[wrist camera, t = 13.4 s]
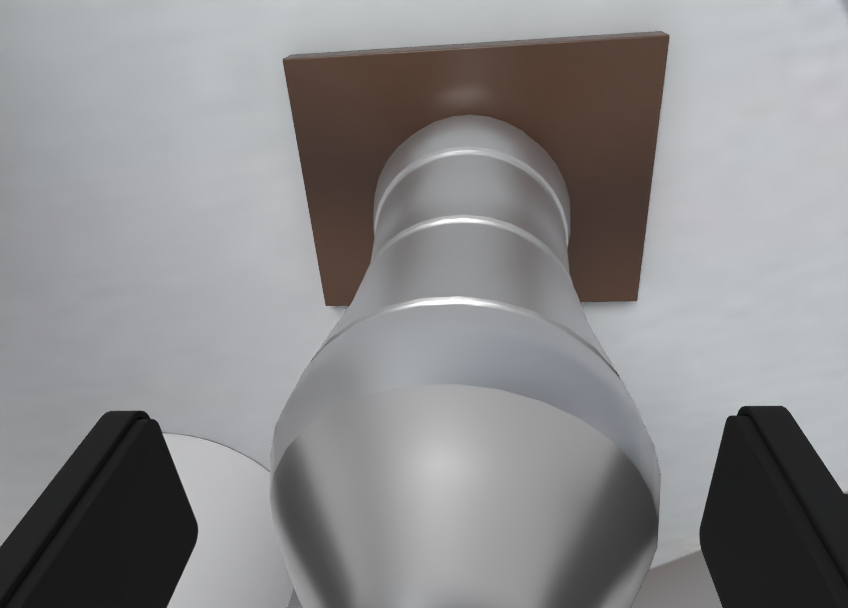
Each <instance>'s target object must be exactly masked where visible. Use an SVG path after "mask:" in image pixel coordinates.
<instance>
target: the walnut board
mask: <svg viewBox="0 0 848 608" xmlns="http://www.w3.org/2000/svg"><path fill="white" fill-rule="evenodd" d="M668 44H669V35H668V34H666V33H664V32H662V31H657V32H641V33H626V34H610V35H594V36H578V37H563V38H547V39H531V40H515V41H500V42H484V43H468V44H453V45H437V46H421V47H405V48H390V49H374V50H358V51H342V52H327V53H311V54H295V55H290V56H288V57H286V58H284V59H283V65H284V71H285V76H286V82H287V88H288V93H289V99H290V105H291V111H292V116H293V122H294V128H295V133H296V139H297V145H298V151H299V156H300V162H301V168H302V173H303V179H304V185H305V190H306V196H307V202H308V208H309V213H310V219H311V225H312V230H313V236H314V242H315V247H316V253H317V259H318V265H319V270H320V276H321V282H322V287H323V293H324V299H325V304H326V306H350V304H351V303H352V301H353V299H354V297H355V295H356V293H357V291H358V289H359V286H360V284H361V282H362V280H363V278H364V276H365V274H366V271H367V269H368V267H369V265H370V263H371V257H372V251H373V245H374V239H375V236H374V230H373V214H374V197H375V192H376V188H377V183H378V179H379V177H380V174H381V172H382V170H383V168H384V166H385V164H386V162H387V160H388V159H389V158H390V157H391V155H392V154H393V153H394V151H395V150H396V149H397V147H399V146H400V145H401V144H402V143H403V142H404V141H406V140H407V139H408V138H409V137H410V136H412V135H413V134H414V133H416V132H417V131H419V130H420V129H422V128H424V127H426V126H428V125H429V124H431V123H433V122H435V121H438V120H442V119H445V118H448V117H452V116H461V115H479V116H488V117H492V118H495V119H498V120H501V121H505V122H507V123H509V124H511V125H513V126H515V127H516V128H518V129H520V130H522V131H523V132H524V133H526V134H527V135H528V136H529V137H530V138H532V139H533V140H534V141H535V142H536V143H538V144H539V145H540V146H541V147H542V148H544V149H545V151H546V152H547V153H548V154H549V156H550V157H551V158H552V159H553V161H554V162H555V163H556V165H557V167H558V169H559V171H560V173H561V175H562V176H563V178H564V180H565V183H566V187H567V191H568V195H569V199H570V237H569V243H568V248H567V253H568V263H569V274H570V277H571V280H572V283H573V286H574V289H575V291H576V293H577V295H578V298H579V301H580V302H608V301H637V297H638V289H639V281H640V272H641V264H642V256H643V248H644V240H645V232H646V224H647V215H648V207H649V199H650V191H651V183H652V175H653V166H654V158H655V150H656V142H657V134H658V126H659V118H660V109H661V101H662V93H663V85H664V77H665V69H666V61H667V52H668Z"/></svg>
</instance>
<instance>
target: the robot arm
mask: <svg viewBox="0 0 848 608" xmlns="http://www.w3.org/2000/svg"><path fill="white" fill-rule="evenodd" d="M197 538H198V524H197V521H196V518H195V515H194V513H193V510H192V508H191V505H190V503H189V500H188V498H187V495H186V492H185V490H184V487H183V485H182V482H181V480H180V477H179V475H178V472H177V469H176V467H175V464H174V462H173V459H172V457H171V454H170V452H169V449H168V446H167V444H166V441H165V439H164V436H163V434H162V431H161V429H160V426H159V424H158V422H157V421H156V420H154V419H150V417H149V415H148V414H147V413H146V412H144V411H109V412H107V413H105V414H104V415H103V416H102V417H101V418H100V419H99V421H98V422H97V423H96V425H95V426H94V427H93V428H92V430H91V431H90V432H89V434H88V435H87V436H86V437H85V439H84V440H83V441H82V443H81V444H80V445H79V446H78V448H77V449H76V450H75V452H74V453H73V454H72V455H71V457H70V458H69V459H68V461H67V462H66V463H65V464H64V466H63V467H62V468H61V470H60V471H59V472H58V473H57V475H56V476H55V477H54V479H53V480H52V481H51V482H50V484H49V485H48V486H47V488H46V489H45V490H44V491H43V493H42V494H41V495H40V497H39V498H38V499H37V500H36V502H35V503H34V504H33V506H32V507H31V508H30V510H29V511H28V512H27V513H26V515H25V516H24V517H23V519H22V520H21V521H20V522H19V524H18V525H17V526H16V528H15V529H14V530H13V531H12V533H11V534H10V535H9V537H8V538H7V539H6V540H5V542H4V543H3V544H2V546H1V547H0V608H167V606H168V604H169V602H170V600H171V597H172V595H173V593H174V591H175V589H176V586H177V584H178V582H179V580H180V578H181V576H182V573H183V571H184V569H185V567H186V565H187V562H188V560H189V558H190V556H191V554H192V552H193V549H194V547H195V545H196V542H197ZM700 545H701V549H702V553H703V556H704V558H705V561H706V564H707V566H708V569H709V572H710V574H711V577H712V580H713V582H714V585H715V588H716V591H717V593H718V596H719V599H720V601H721V604H722V607H723V608H848V494H844V493H843V492H842V490H841V489H840V487H839V486H838V484H837V483H836V481H835V480H834V478H833V477H832V475H831V474H830V472H829V471H828V469H827V468H826V466H825V465H824V463H823V462H822V460H821V459H820V457H819V456H818V454H817V453H816V451H815V450H814V448H813V447H812V445H811V444H810V442H809V441H808V439H807V438H806V436H805V435H804V433H803V432H802V430H801V429H800V427H799V426H798V424H797V423H796V421H795V420H794V418H793V416H792V415H791V413H790V412H789V411H788V410H787V409H786V408H785V407H783V406H744V407H741V408H740V410H739V411H738V414H737V416H729V417H728V418H727V420H726V423H725V427H724V432H723V436H722V440H721V444H720V448H719V452H718V456H717V460H716V464H715V468H714V473H713V477H712V481H711V485H710V489H709V493H708V497H707V501H706V505H705V509H704V514H703V518H702V522H701V526H700Z"/></svg>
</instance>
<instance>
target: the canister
mask: <svg viewBox="0 0 848 608" xmlns="http://www.w3.org/2000/svg"><path fill="white" fill-rule="evenodd" d="M162 434H163V436H164V439H165V441H166V444H167V446H168V449H169V452H170V454H171V457H172V459H173V462H174V464H175V467H176V469H177V472H178V475H179V477H180V480H181V482H182V485H183V487H184V490H185V492H186V495H187V498H188V500H189V503H190V505H191V508H192V510H193V513H194V515H195V518H196V521H197V524H198V538H197V542H196V545H195V547H194V549H193V552H192V554H191V556H190V558H189V560H188V562H187V565H186V567H185V569H184V571H183V573H182V576H181V578H180V580H179V582H178V584H177V586H176V589H175V591H174V593H173V595H172V597H171V600H170V602H169V604H168V606H167V608H288V605H289V602H290V598H291V595H292V592H293V588H294V587H293V585H292V582H291V580H290V577H289V575H288V571H287V568H286V565H285V562H284V558H283V555H282V552H281V548H280V545H279V542H278V539H277V535H276V532H275V529H274V526H273V522H272V513H271V505H270V472H269V471H267V470H266V469H265V468H263V467H262V466H261V465H259V464H258V463H256V462H255V461H253V460H251V459H250V458H248V457H246V456H244V455H243V454H241V453H239V452H237V451H234V450H232V449H230V448H228V447H225V446H223V445H220V444H217V443H214V442H211V441H208V440H204V439H201V438H196V437H192V436H186V435H179V434H168V433H162Z"/></svg>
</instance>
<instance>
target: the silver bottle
mask: <svg viewBox="0 0 848 608" xmlns="http://www.w3.org/2000/svg"><path fill="white" fill-rule="evenodd" d="M373 230H374V236H375V239H374V245H373V251H372V257H371V263H370V265H369V267H368V269H367V271H366V274H365V276H364V278H363V280H362V282H361V284H360V286H359V289H358V291H357V293H356V295H355V297H354V299H353V301H352V303H351V304H350V306H349V307H348V309H347V310H346V311H345V313H344V314H343V316H342V317H341V319H340V320H339V322H338V323H337V324H336V326H335V327H334V329H333V330H332V332H331V333H330V334H329V336H328V337H327V339H326V340H325V342H324V343H323V344H322V346H321V347H320V349H319V350H318V352H317V353H316V354H315V356H314V357H313V359H312V360H311V362H310V364H309V365H308V366H307V367H306V368H305V370H304V371H303V373H302V375H301V377H300V379H299V381H298V383H297V385H296V387H295V389H294V390H293V392H292V394H291V396H290V397H289V399H288V401H287V403H286V405H285V407H284V409H283V411H282V413H281V415H280V418H279V420H278V422H277V424H276V426H275V430H274V436H273V442H272V448H271V456H270V505H271V513H272V522H273V526H274V529H275V532H276V535H277V539H278V542H279V545H280V548H281V552H282V555H283V558H284V562H285V565H286V568H287V571H288V575H289V577H290V580H291V582H292V585H293V587H294V589H295V592H296V594H297V597H298V599H299V601H300V603H301V606H302V608H631V607H632V604H633V602H634V600H635V598H636V596H637V594H638V592H639V590H640V588H641V586H642V583H643V581H644V579H645V577H646V575H647V573H648V571H649V568H650V565H651V563H652V560H653V557H654V555H655V552H656V549H657V542H658V524H659V505H660V485H661V472H660V468H659V464H658V460H657V455H656V451H655V447H654V444H653V442H652V440H651V438H650V436H649V434H648V431H647V429H646V427H645V425H644V422H643V420H642V418H641V415H640V413H639V411H638V409H637V407H636V405H635V403H634V401H633V399H632V398H631V396H630V394H629V392H628V390H627V388H626V386H625V385H624V383H623V382H622V381H621V379H620V377H619V375H618V373H617V372H616V370H615V368H614V366H613V365H612V363H611V361H610V360H609V358H608V356H607V354H606V353H605V351H604V349H603V348H602V346H601V344H600V342H599V341H598V339H597V337H596V336H595V334H594V332H593V330H592V329H591V327H590V325H589V323H588V322H587V319H586V317H585V314H584V311H583V309H582V306H581V303H580V301H579V298H578V295H577V293H576V291H575V289H574V286H573V283H572V280H571V277H570V274H569V263H568V253H567V248H568V243H569V237H570V199H569V195H568V191H567V187H566V183H565V180H564V178H563V176H562V175H561V173H560V171H559V169H558V167H557V165H556V163H555V162H554V161H553V159H552V158H551V157H550V156H549V154H548V153H547V152H546V151H545V149H544V148H542V147H541V146H540V145H539V144H538V143H536V142H535V141H534V140H533V139H532V138H530V137H529V136H528V135H527V134H526V133H524V132H523V131H522V130H520V129H518V128H516V127H515V126H513V125H511V124H509V123H507V122H505V121H501V120H498V119H495V118H492V117H488V116H479V115H461V116H452V117H448V118H445V119H442V120H438V121H435V122H433V123H431V124H429V125H428V126H426V127H424V128H422V129H420V130H419V131H417V132H416V133H414V134H413V135H412V136H410V137H409V138H408V139H407V140H406V141H404V142H403V143H402V144H401V145H400V146H399V147H397V149H396V150H395V151H394V153H393V154H392V155H391V157H390V158H389V159H388V160H387V162H386V164H385V166H384V168H383V170H382V172H381V174H380V177H379V179H378V183H377V188H376V192H375V197H374V214H373Z"/></svg>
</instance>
